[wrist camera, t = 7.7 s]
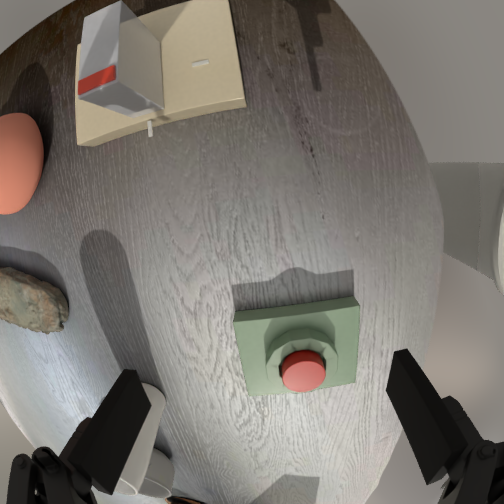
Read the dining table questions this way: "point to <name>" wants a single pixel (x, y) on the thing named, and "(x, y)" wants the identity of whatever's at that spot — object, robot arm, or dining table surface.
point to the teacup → (158, 476)
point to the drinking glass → (142, 445)
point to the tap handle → (120, 63)
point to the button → (303, 371)
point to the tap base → (177, 72)
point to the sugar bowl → (19, 161)
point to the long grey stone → (31, 302)
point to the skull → (179, 501)
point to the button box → (298, 342)
